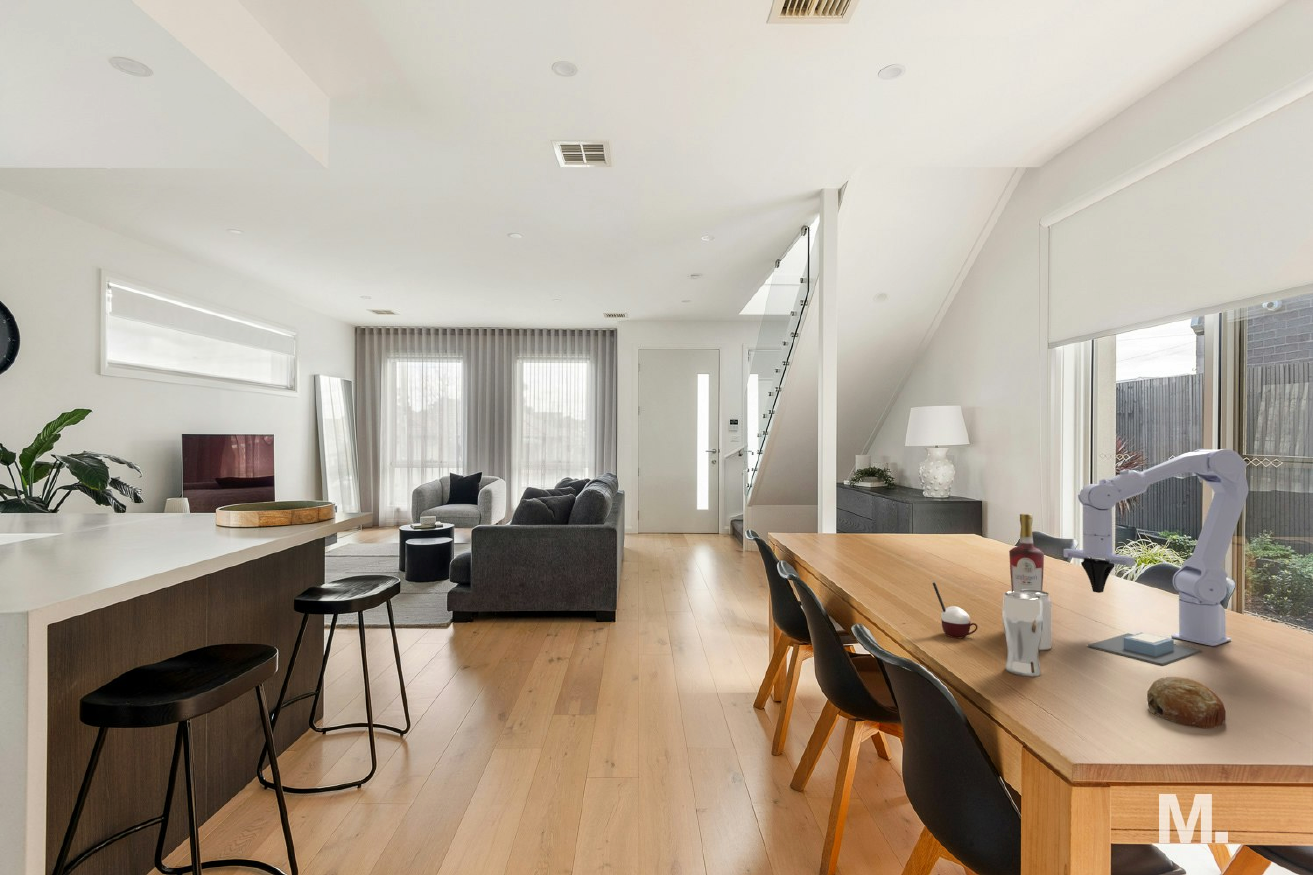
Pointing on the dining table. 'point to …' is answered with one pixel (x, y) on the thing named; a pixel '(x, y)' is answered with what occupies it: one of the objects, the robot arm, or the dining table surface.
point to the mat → (1117, 647)
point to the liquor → (1026, 560)
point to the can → (1044, 618)
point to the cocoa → (954, 620)
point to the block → (1148, 644)
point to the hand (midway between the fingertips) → (1098, 591)
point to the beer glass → (1023, 632)
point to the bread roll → (1186, 702)
